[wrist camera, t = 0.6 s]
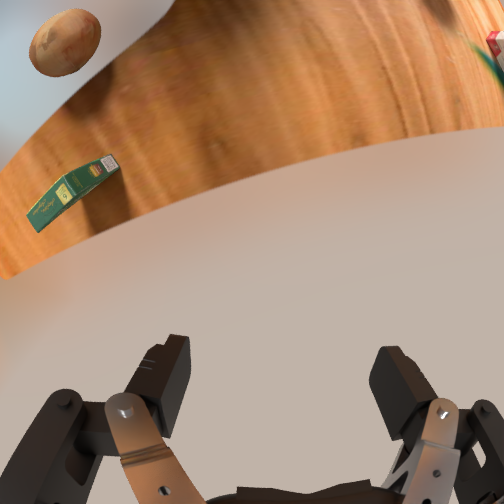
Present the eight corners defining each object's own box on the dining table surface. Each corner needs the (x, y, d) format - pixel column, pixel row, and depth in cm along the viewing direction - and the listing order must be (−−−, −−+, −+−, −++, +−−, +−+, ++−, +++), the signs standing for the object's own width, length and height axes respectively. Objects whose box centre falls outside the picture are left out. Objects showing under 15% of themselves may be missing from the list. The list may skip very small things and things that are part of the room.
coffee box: (112, 150, 32) (61, 174, 20) (123, 166, 33) (76, 197, 22) (75, 181, 33) (23, 215, 22) (85, 196, 34) (36, 235, 23)
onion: (96, 6, 20) (61, -14, 11) (123, 46, 24) (89, 30, 16) (48, 50, 22) (7, 45, 13) (71, 91, 26) (29, 93, 18)
